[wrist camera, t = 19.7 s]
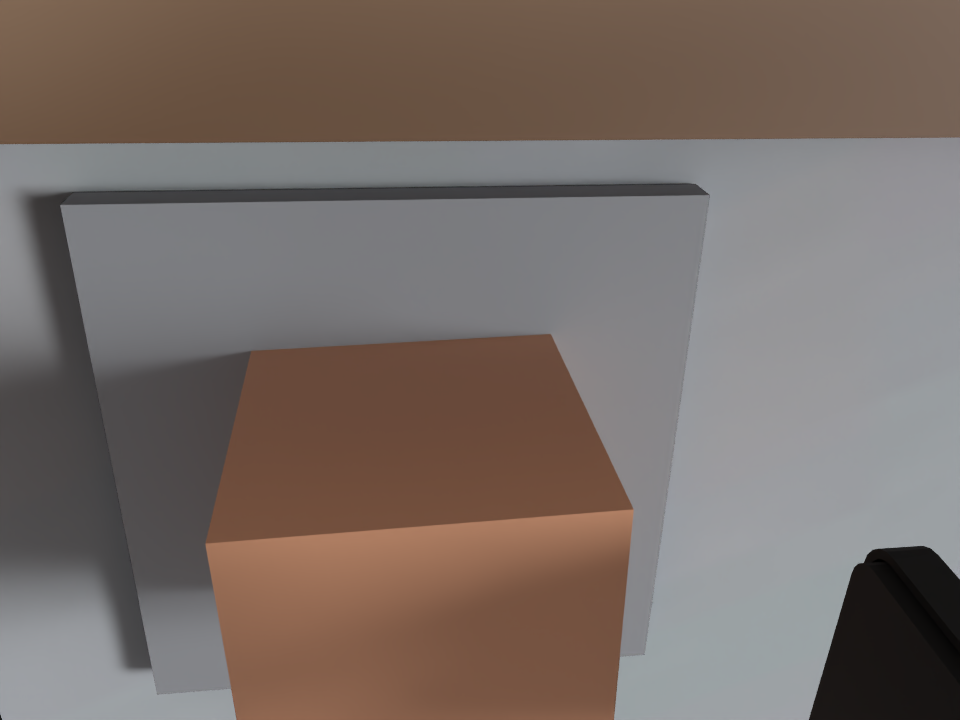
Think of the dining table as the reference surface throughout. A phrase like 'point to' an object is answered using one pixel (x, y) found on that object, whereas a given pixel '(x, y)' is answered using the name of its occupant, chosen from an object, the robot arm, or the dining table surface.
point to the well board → (476, 70)
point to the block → (419, 537)
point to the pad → (365, 340)
